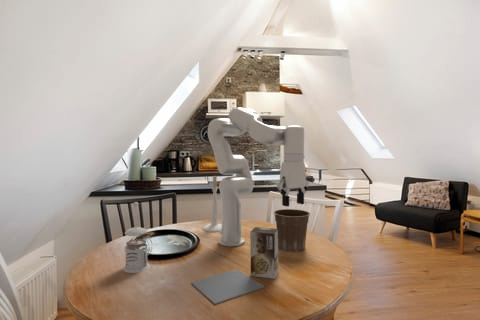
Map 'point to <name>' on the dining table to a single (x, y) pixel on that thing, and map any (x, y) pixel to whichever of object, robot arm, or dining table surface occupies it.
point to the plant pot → (291, 229)
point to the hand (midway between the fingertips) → (293, 204)
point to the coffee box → (264, 252)
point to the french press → (136, 251)
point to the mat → (226, 286)
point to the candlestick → (214, 211)
